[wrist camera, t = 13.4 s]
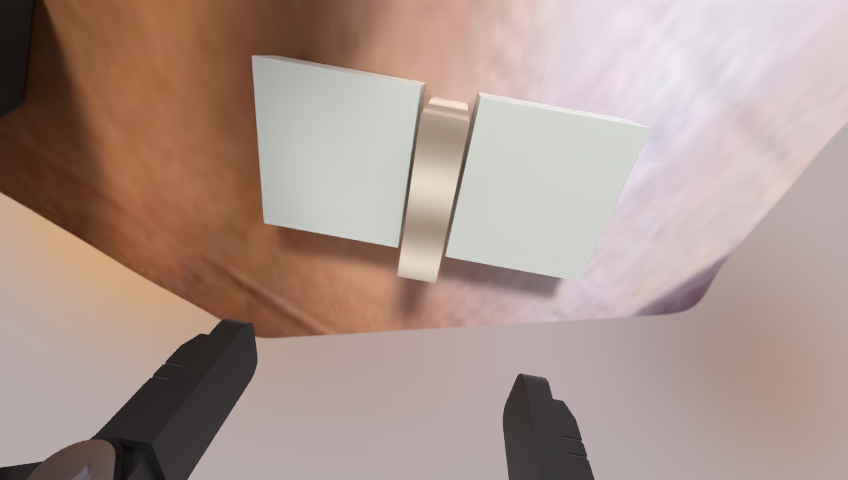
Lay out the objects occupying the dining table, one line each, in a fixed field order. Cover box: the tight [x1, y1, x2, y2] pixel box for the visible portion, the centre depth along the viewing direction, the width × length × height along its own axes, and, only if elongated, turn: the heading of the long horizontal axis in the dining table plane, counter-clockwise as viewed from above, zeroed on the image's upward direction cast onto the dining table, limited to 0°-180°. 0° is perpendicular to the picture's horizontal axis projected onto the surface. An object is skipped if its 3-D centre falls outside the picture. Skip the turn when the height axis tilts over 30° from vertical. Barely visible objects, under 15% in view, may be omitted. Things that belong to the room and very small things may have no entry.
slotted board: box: [252, 55, 651, 281], centre depth 31 cm, size 14×30×4 cm, turn 80°
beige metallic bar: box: [397, 97, 470, 283], centre depth 28 cm, size 12×3×10 cm, turn 170°
